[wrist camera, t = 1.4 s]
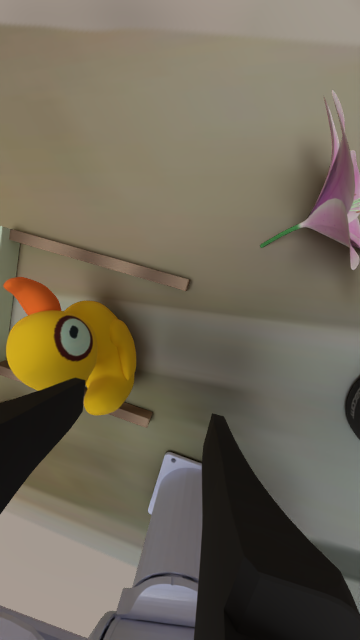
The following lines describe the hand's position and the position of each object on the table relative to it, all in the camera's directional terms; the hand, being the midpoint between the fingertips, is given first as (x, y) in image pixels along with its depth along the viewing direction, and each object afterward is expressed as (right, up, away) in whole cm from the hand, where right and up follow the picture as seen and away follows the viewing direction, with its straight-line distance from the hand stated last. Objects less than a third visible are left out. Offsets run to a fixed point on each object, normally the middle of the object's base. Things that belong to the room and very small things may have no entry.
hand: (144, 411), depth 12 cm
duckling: (-5, +3, +10) cm, 12 cm away
